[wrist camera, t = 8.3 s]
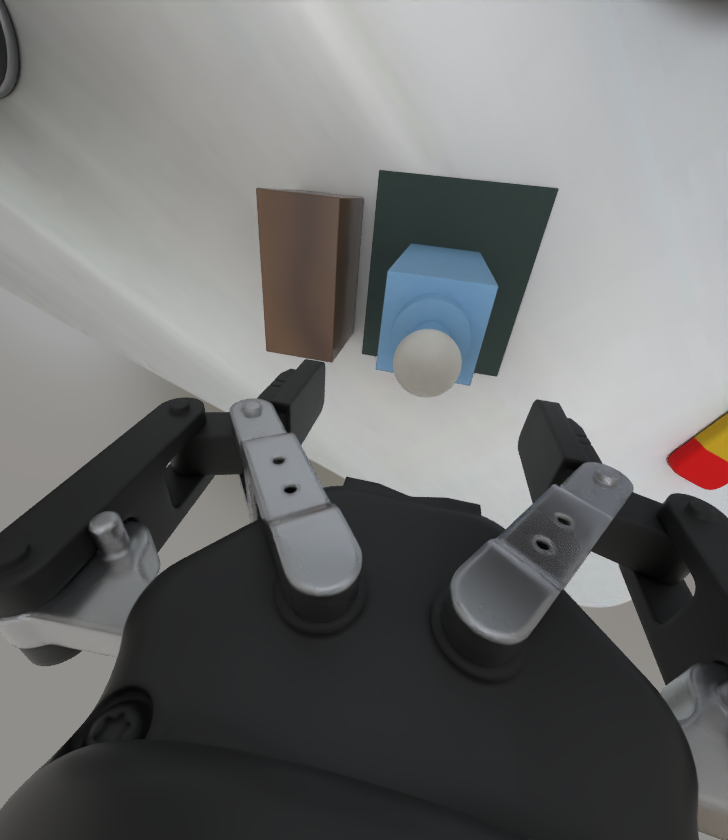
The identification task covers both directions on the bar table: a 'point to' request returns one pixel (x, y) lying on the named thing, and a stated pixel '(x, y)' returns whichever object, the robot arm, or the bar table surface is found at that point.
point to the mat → (459, 241)
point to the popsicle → (704, 457)
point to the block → (309, 270)
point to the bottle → (435, 318)
